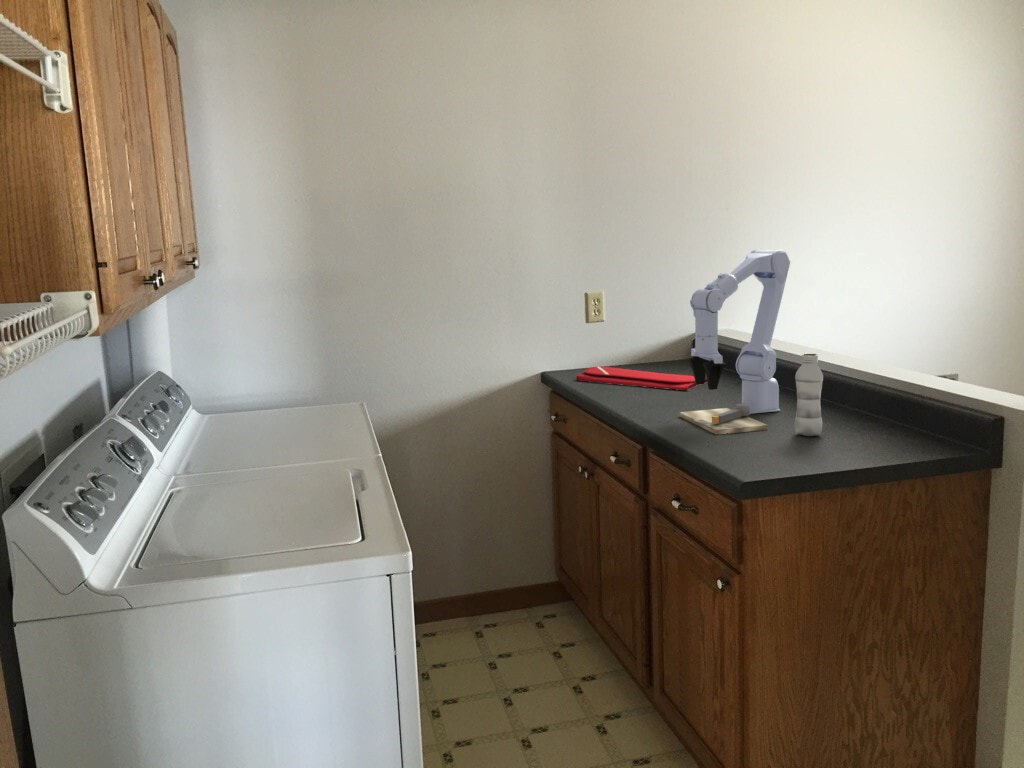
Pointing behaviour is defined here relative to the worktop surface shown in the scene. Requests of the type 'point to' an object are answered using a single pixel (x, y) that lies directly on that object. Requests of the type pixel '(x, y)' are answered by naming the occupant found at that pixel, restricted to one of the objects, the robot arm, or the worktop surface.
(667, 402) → the worktop surface
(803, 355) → the plastic bottle
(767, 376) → the robot arm
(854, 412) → the worktop surface
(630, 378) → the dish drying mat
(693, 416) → the light wood flat board
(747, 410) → the grey bar
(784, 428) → the worktop surface
